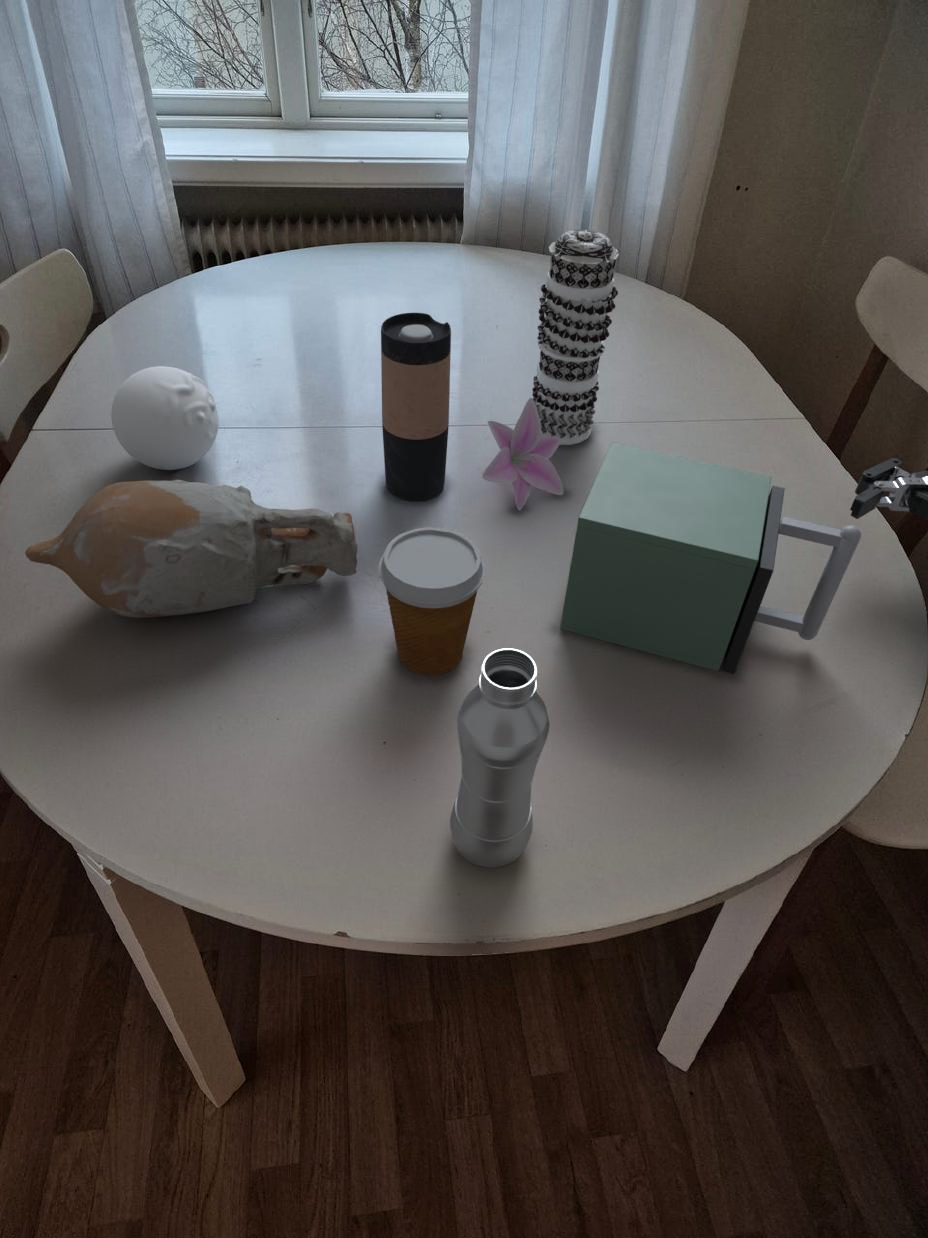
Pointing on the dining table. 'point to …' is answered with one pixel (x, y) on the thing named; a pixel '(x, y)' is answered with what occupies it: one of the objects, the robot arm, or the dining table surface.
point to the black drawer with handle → (751, 608)
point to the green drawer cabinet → (665, 554)
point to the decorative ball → (165, 417)
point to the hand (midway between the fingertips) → (893, 531)
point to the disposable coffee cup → (431, 595)
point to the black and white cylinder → (573, 333)
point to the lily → (524, 456)
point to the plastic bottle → (498, 760)
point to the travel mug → (415, 404)
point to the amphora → (192, 547)
